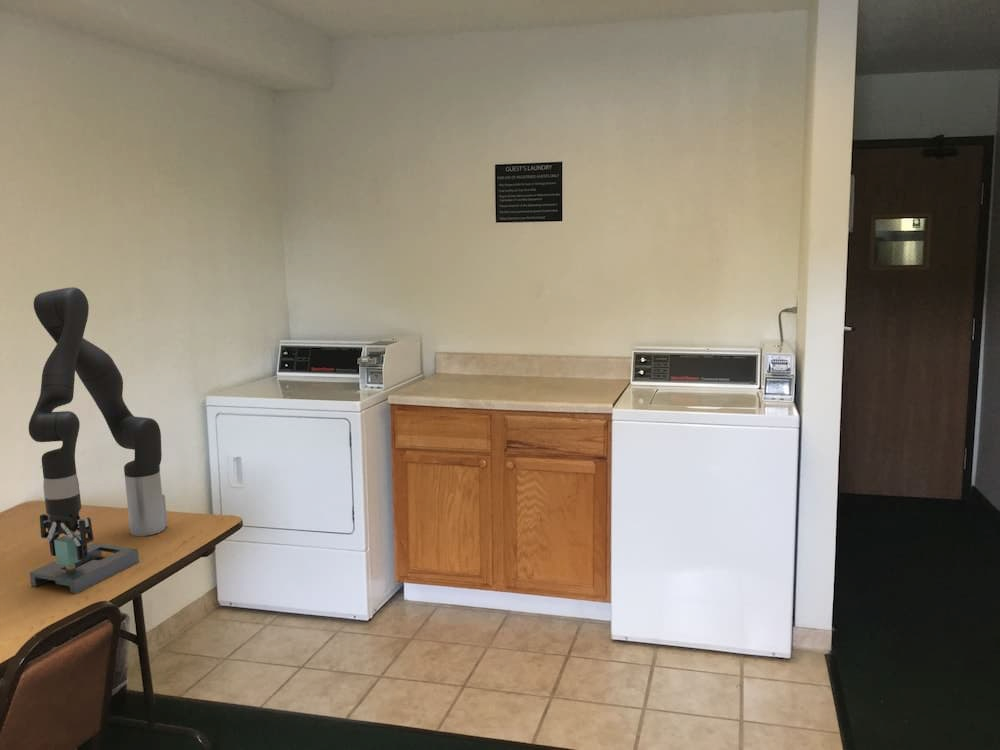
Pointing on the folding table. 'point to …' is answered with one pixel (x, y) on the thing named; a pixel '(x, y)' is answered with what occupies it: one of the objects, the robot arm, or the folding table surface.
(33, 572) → the keyhole plate
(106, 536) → the folding table surface
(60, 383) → the robot arm
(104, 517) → the folding table surface
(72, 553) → the teal stud
